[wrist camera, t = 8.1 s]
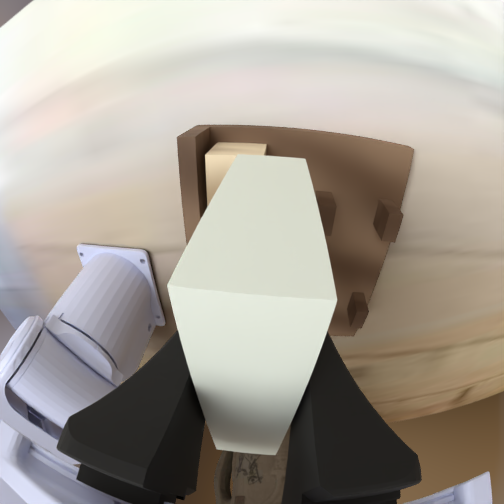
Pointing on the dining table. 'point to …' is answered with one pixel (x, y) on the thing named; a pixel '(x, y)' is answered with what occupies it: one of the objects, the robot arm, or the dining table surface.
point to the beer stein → (252, 476)
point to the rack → (322, 199)
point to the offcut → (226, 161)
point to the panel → (254, 301)
